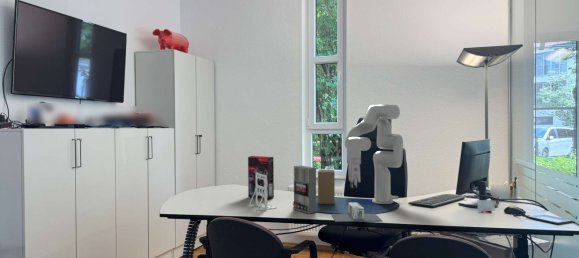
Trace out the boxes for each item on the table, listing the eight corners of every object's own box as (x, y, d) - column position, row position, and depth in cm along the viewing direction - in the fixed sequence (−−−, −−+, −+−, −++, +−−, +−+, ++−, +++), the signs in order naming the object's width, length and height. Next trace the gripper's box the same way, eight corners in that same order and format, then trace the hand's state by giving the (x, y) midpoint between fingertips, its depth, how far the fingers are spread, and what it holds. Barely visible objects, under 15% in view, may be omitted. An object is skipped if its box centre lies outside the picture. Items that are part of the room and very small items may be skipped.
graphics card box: (247, 197, 264) (247, 156, 263) (253, 195, 270) (253, 155, 269) (268, 200, 255) (268, 157, 254) (274, 198, 261) (274, 156, 260)
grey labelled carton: (292, 209, 229) (292, 166, 228) (300, 207, 232) (300, 165, 231) (308, 214, 218) (307, 168, 217) (316, 212, 221) (316, 167, 220)
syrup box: (357, 212, 219) (364, 219, 205) (347, 212, 219) (353, 219, 204) (357, 202, 219) (364, 208, 205) (347, 202, 219) (353, 208, 204)
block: (334, 201, 250) (334, 169, 249) (334, 204, 240) (334, 171, 239) (318, 200, 251) (318, 169, 250) (318, 204, 241) (317, 171, 240)
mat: (375, 214, 216) (375, 213, 216) (382, 221, 202) (382, 220, 202) (331, 215, 215) (331, 214, 215) (335, 221, 202) (335, 221, 202)
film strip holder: (278, 208, 232) (278, 174, 231) (257, 211, 224) (257, 176, 224) (267, 203, 244) (267, 171, 243) (246, 206, 237) (246, 173, 236)
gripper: (363, 162, 207) (363, 197, 207) (357, 159, 222) (357, 192, 222) (349, 162, 206) (349, 197, 207) (344, 159, 221) (344, 192, 222)
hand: (353, 194), depth 215 cm, fingers closed
